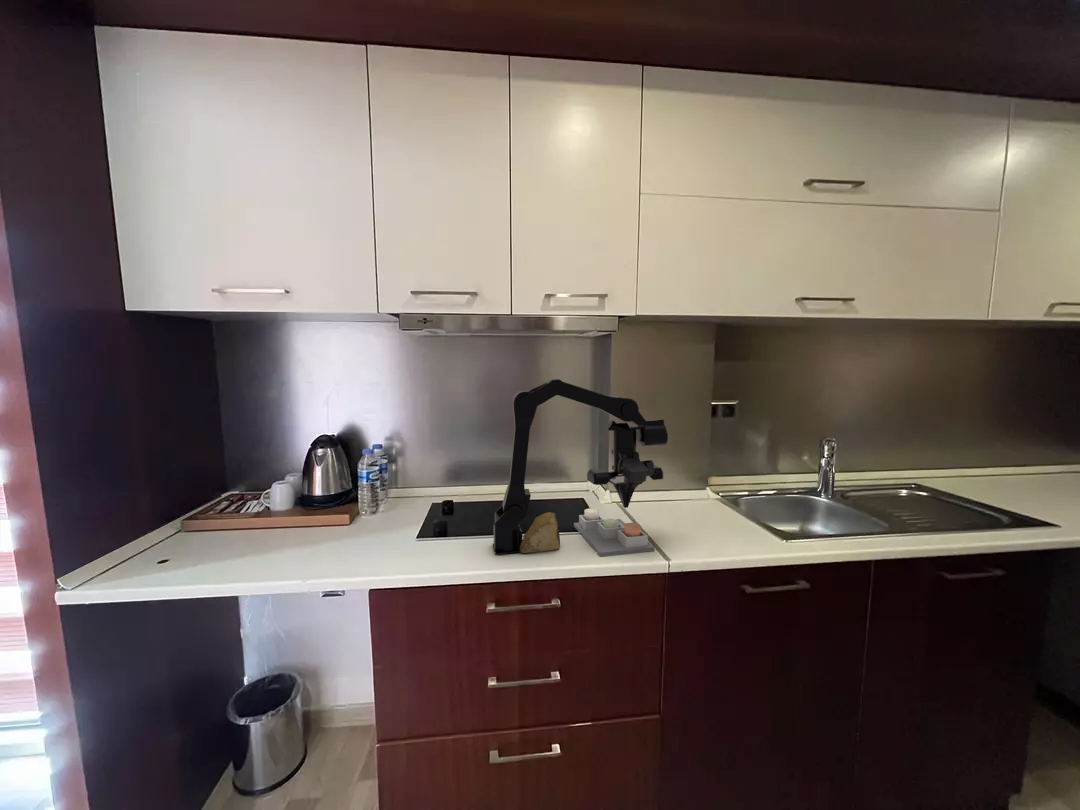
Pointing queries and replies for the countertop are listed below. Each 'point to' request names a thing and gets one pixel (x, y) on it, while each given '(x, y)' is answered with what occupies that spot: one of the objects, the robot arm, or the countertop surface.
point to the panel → (611, 538)
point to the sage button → (610, 523)
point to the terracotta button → (632, 529)
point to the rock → (541, 535)
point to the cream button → (591, 514)
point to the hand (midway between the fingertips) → (625, 507)
